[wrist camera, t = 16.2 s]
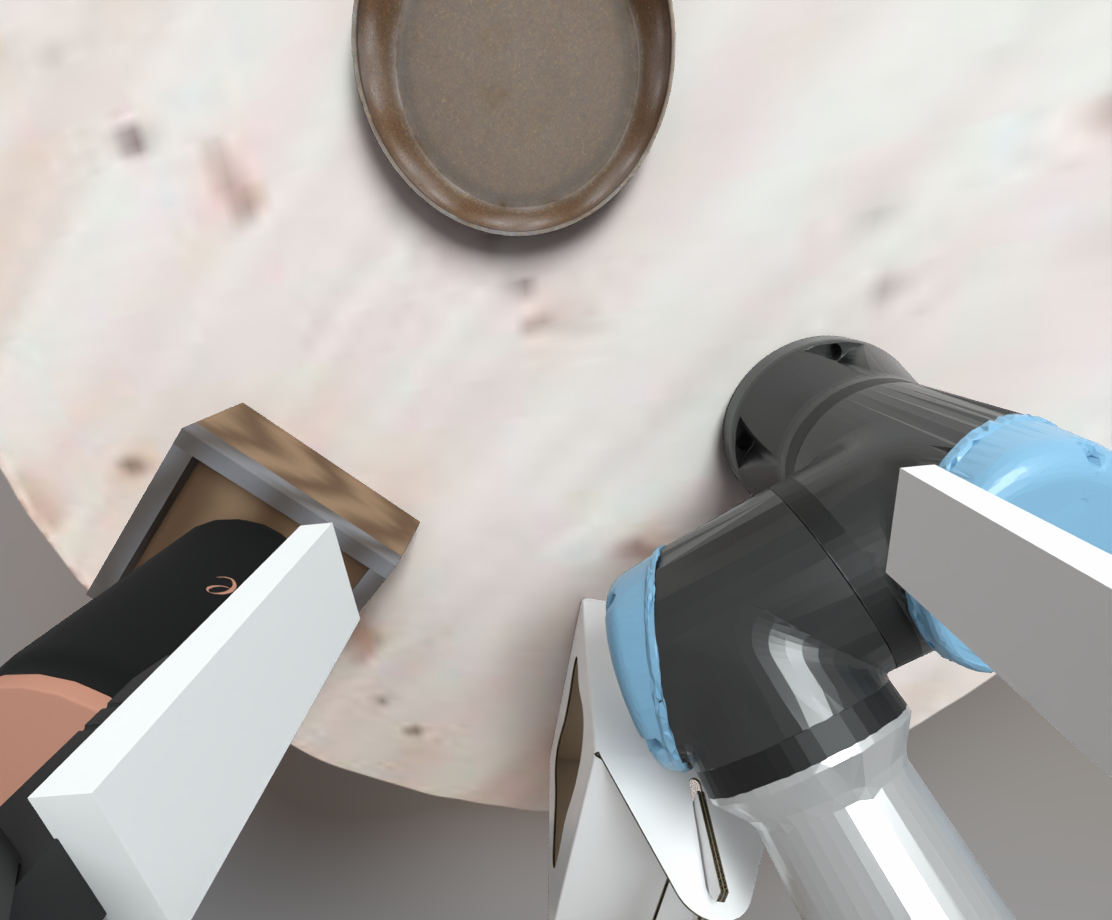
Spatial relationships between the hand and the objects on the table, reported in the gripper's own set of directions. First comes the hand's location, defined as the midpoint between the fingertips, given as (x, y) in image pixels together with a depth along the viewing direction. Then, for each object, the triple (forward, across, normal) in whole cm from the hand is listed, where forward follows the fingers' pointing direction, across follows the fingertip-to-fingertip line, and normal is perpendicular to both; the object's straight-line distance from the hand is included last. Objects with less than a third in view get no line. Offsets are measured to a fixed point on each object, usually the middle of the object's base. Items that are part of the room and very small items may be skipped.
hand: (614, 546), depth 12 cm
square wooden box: (+32, +28, +14) cm, 45 cm away
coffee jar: (+26, +28, +14) cm, 41 cm away
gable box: (+32, -2, +36) cm, 48 cm away
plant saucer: (+32, +2, -19) cm, 37 cm away
